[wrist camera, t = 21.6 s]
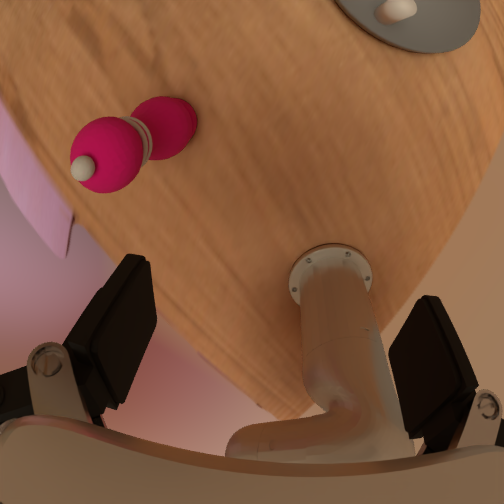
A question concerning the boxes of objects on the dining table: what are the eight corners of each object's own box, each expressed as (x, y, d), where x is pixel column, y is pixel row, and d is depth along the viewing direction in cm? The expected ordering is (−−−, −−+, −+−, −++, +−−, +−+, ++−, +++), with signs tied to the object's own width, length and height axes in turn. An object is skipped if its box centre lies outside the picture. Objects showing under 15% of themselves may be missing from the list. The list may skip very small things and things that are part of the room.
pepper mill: (137, 114, 33) (26, 160, 16) (182, 83, 31) (82, 96, 14) (165, 159, 36) (76, 236, 19) (212, 131, 34) (141, 190, 17)
